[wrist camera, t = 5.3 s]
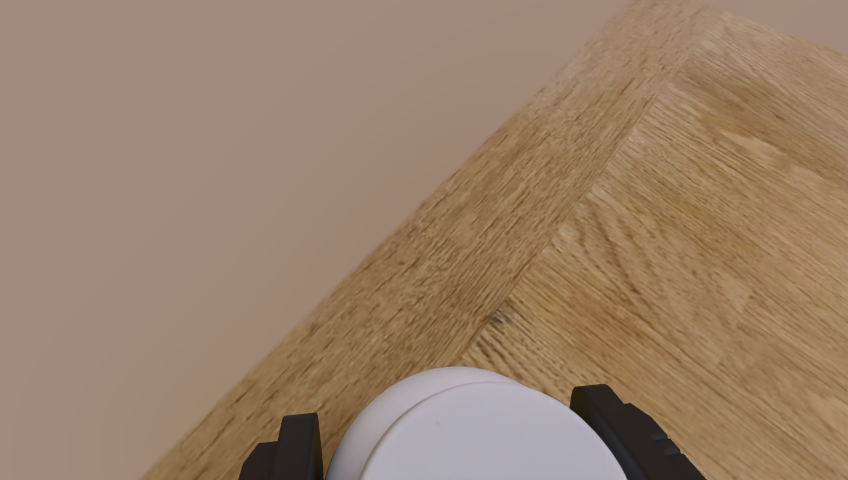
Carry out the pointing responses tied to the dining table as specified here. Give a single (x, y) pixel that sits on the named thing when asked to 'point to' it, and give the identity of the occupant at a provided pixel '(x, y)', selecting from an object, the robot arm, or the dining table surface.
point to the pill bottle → (469, 433)
